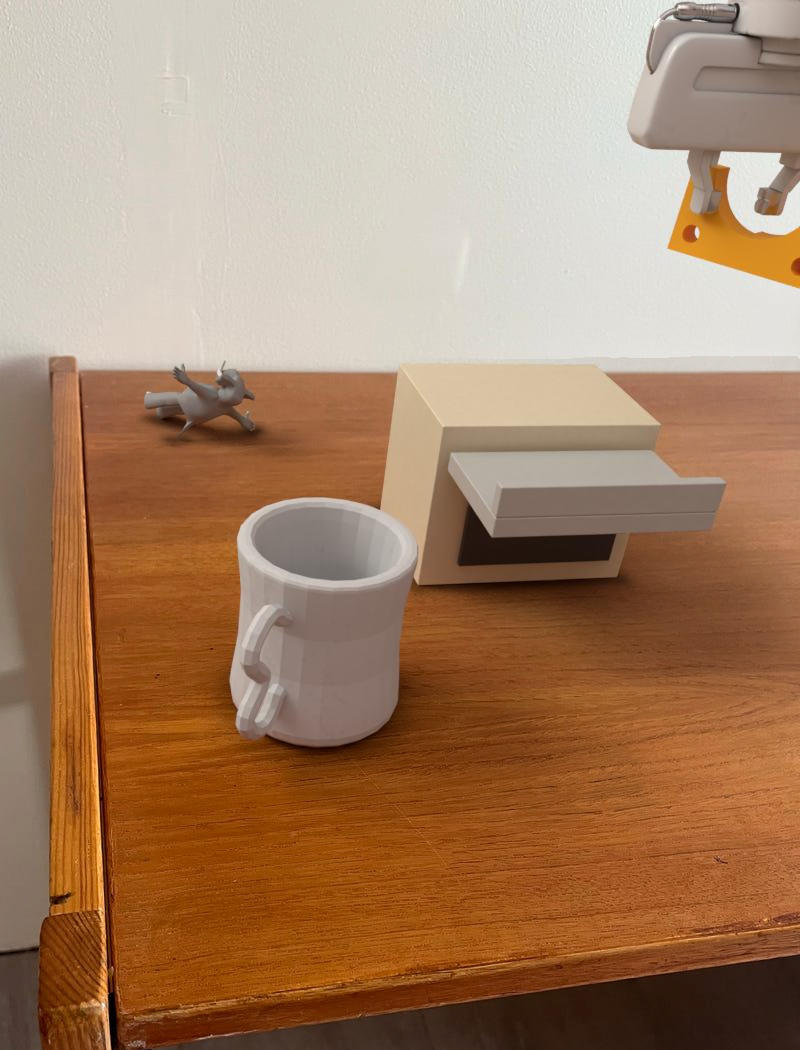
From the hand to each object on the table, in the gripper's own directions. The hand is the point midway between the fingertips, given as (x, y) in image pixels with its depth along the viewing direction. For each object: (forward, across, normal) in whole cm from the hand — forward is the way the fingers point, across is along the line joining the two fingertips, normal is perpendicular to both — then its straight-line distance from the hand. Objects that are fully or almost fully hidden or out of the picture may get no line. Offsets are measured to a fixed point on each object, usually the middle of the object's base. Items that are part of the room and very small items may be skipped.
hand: (735, 213), depth 81 cm
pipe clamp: (+4, +2, -1) cm, 4 cm away
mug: (+18, -41, -36) cm, 57 cm away
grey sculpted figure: (+17, -43, -1) cm, 46 cm away
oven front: (+18, -24, -23) cm, 37 cm away
